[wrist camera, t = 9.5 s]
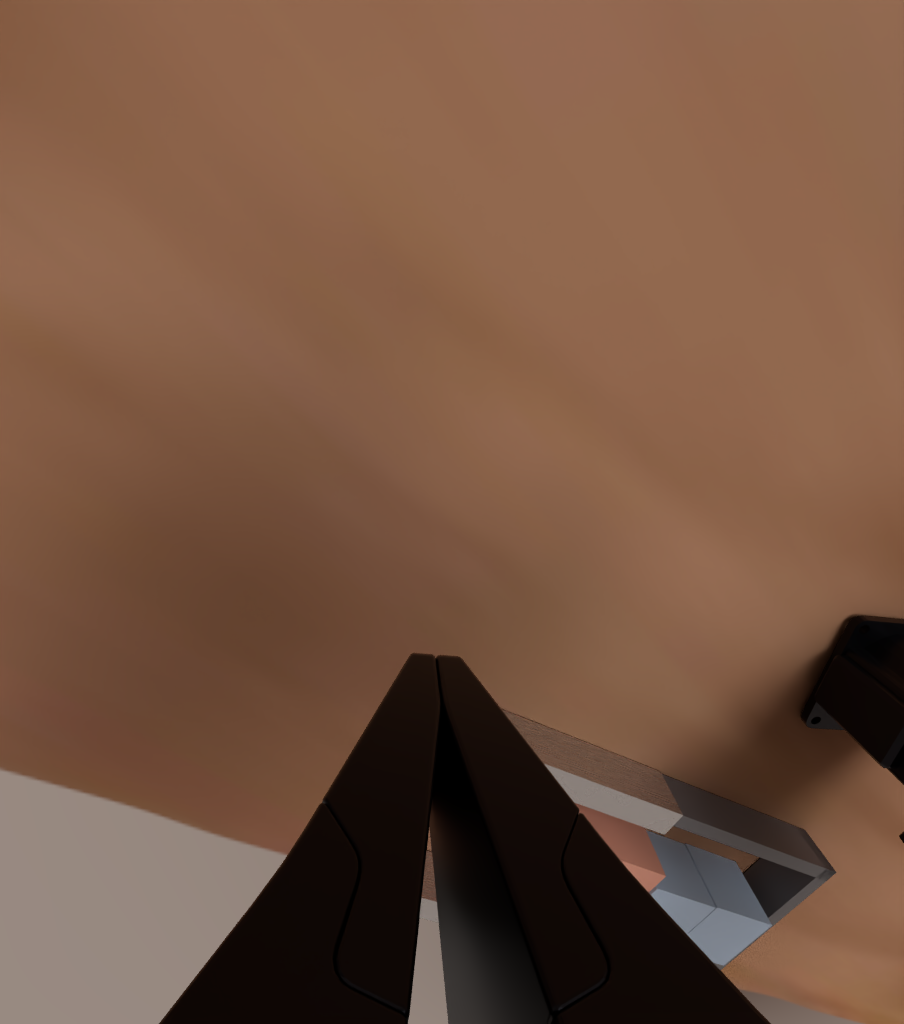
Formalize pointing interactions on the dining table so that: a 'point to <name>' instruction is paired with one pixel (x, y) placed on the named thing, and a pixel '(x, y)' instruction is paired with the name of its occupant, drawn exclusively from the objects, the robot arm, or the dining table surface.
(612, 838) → the block
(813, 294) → the dining table surface
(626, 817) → the slot rails
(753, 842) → the chip tray
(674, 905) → the blue cube
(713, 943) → the blue-grey cube
